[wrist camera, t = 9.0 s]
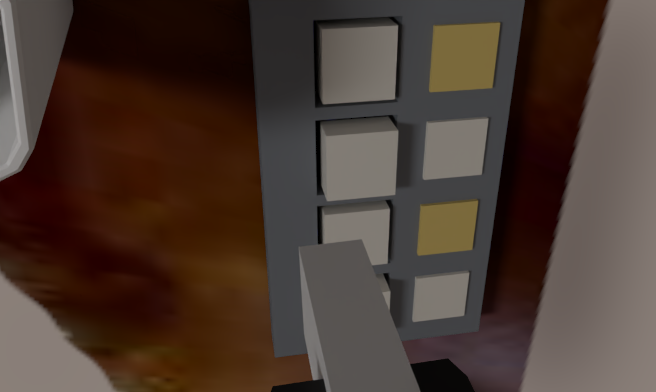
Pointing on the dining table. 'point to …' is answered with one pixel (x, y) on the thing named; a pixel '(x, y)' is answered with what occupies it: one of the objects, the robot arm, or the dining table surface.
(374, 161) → the button
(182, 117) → the dining table surface
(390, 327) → the robot arm
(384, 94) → the button
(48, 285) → the dining table surface
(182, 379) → the dining table surface
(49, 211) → the dining table surface
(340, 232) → the button
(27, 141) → the cup
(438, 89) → the board
